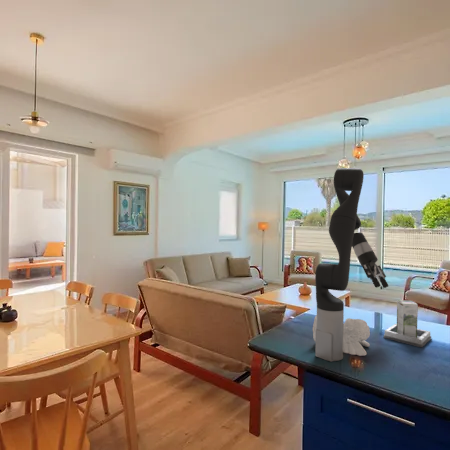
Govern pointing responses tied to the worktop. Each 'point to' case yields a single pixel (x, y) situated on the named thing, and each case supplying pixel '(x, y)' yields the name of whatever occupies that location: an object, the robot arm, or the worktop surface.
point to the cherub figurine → (352, 336)
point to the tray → (419, 341)
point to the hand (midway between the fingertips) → (382, 287)
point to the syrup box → (407, 318)
